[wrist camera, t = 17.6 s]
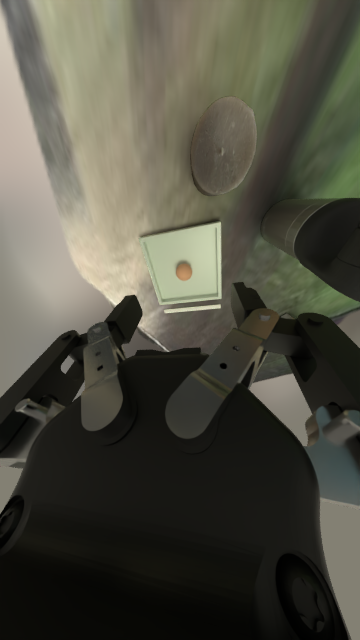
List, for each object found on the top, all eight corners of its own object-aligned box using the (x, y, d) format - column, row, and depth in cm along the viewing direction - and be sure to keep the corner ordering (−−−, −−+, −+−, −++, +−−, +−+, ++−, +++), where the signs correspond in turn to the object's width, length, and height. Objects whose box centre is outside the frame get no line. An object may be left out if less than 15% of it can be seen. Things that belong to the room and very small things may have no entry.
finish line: (220, 304, 54) (220, 304, 54) (220, 307, 55) (220, 308, 55) (164, 309, 58) (163, 309, 58) (165, 312, 59) (164, 313, 59)
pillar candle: (183, 175, 33) (176, 163, 22) (213, 115, 27) (225, 58, 16) (214, 206, 36) (222, 210, 25) (247, 158, 31) (277, 136, 19)
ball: (191, 260, 44) (190, 266, 40) (193, 275, 47) (192, 282, 43) (175, 262, 45) (173, 268, 41) (178, 277, 48) (176, 284, 44)
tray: (219, 220, 38) (220, 222, 35) (220, 294, 51) (221, 298, 49) (141, 236, 42) (138, 238, 40) (161, 300, 55) (159, 305, 53)
